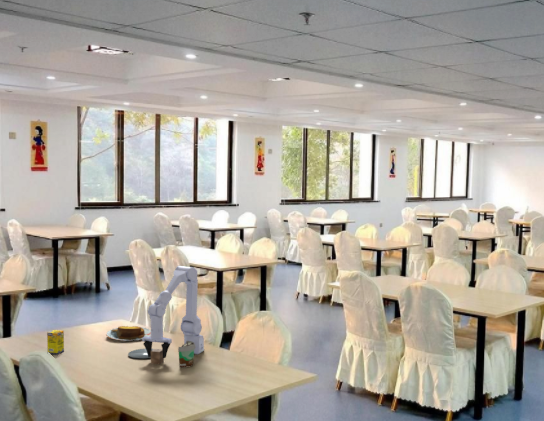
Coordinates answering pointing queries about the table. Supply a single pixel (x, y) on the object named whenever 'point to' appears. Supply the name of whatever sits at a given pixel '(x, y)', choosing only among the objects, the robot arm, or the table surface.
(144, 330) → the food on plate
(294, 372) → the table surface
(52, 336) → the supplement box
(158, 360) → the walnut block
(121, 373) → the table surface
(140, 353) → the slate dish
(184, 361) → the food container
